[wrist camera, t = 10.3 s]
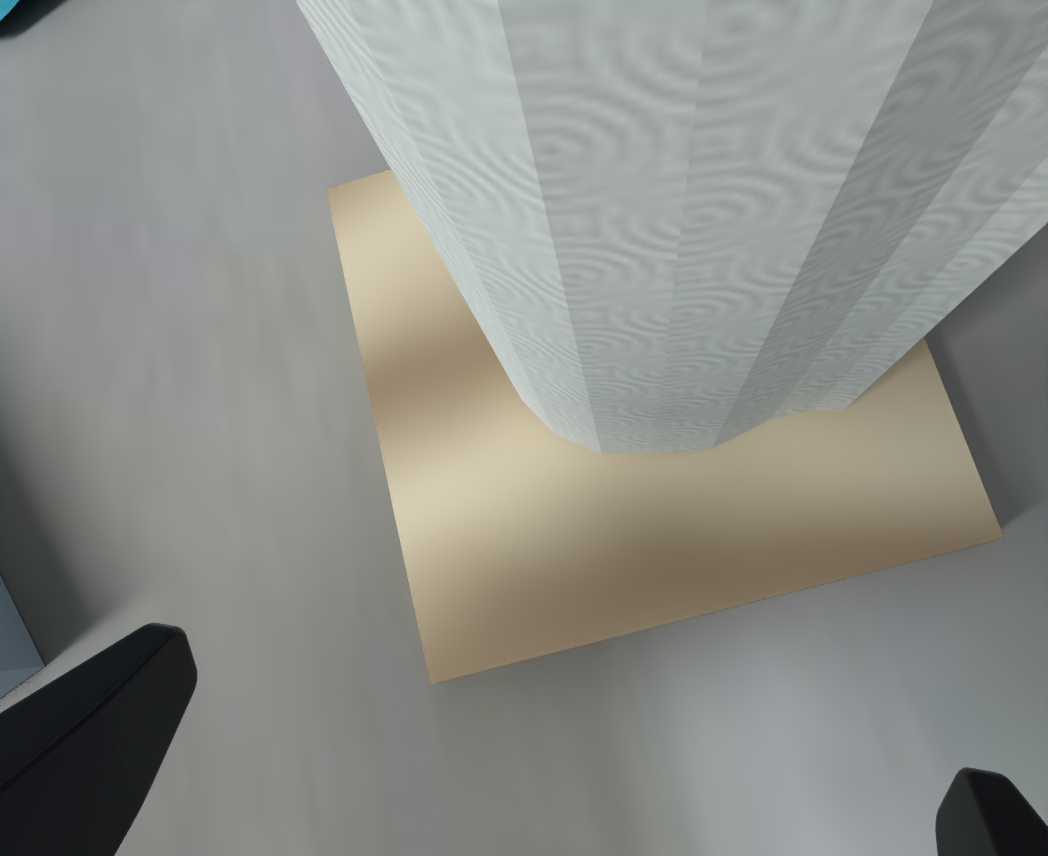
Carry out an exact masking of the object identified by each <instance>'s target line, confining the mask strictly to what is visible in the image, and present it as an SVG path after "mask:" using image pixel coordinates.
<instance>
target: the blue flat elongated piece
mask: <svg viewBox="0 0 1048 856" xmlns="http://www.w3.org/2000/svg"><path fill="white" fill-rule="evenodd" d="M18 1H19V0H0V20H1V19H2V18H3V17H4V16H5V15H7V14H8V12H9V11H10V10H11V9H12V8H13V7H14V6H15V4H16V3H17V2H18Z"/></svg>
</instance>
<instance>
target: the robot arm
mask: <svg viewBox="0 0 1048 856" xmlns="http://www.w3.org/2000/svg"><path fill="white" fill-rule="evenodd" d="M196 683H197V668H196V665H195V661H194V658H193V655H192V652H191V649H190V645H189V642H188V639H187V636H186V634H185V632H184V630H182V629H181V628H180V627H177V626H171V625H166V624H160V623H150V624H147V625H144V626H142V627H141V628H139V629H137V630H136V631H134V632H132V633H131V634H129V635H127V636H126V637H124V638H123V639H121V640H119V641H118V642H116V643H114V644H113V645H111V646H109V647H108V648H106V649H105V650H103V651H101V652H100V653H98V654H96V655H95V656H93V657H91V658H90V659H88V660H87V661H85V662H83V663H82V664H80V665H78V666H77V667H75V668H73V669H72V670H70V671H68V672H67V673H65V674H64V675H62V676H60V677H59V678H57V679H55V680H54V681H52V682H50V683H49V684H47V685H46V686H44V687H42V688H41V689H39V690H37V691H36V692H34V693H32V694H31V695H29V696H28V697H26V698H24V699H23V700H21V701H19V702H18V703H16V704H14V705H13V706H11V707H10V708H8V709H6V710H5V711H3V712H1V713H0V856H114V855H115V853H116V851H117V850H118V848H119V846H120V844H121V843H122V841H123V839H124V837H125V836H126V834H127V832H128V830H129V829H130V827H131V825H132V823H133V822H134V820H135V818H136V816H137V814H138V812H139V810H140V809H141V807H142V805H143V803H144V801H145V799H146V796H147V794H148V792H149V790H150V788H151V786H152V784H153V782H154V779H155V777H156V775H157V773H158V770H159V768H160V766H161V764H162V762H163V759H164V757H165V755H166V753H167V750H168V748H169V746H170V744H171V741H172V739H173V737H174V735H175V733H176V730H177V728H178V726H179V724H180V721H181V719H182V717H183V715H184V713H185V710H186V708H187V706H188V704H189V701H190V699H191V697H192V695H193V692H194V690H195V687H196ZM935 830H936V842H937V852H938V856H1048V826H1047V825H1046V823H1045V822H1044V821H1043V820H1042V818H1041V817H1040V816H1039V815H1038V814H1037V812H1036V811H1035V810H1034V809H1033V807H1032V806H1031V805H1030V804H1029V803H1028V801H1027V800H1026V799H1025V798H1024V796H1023V795H1022V794H1021V793H1020V791H1019V790H1018V789H1017V788H1016V787H1015V785H1014V784H1013V783H1012V782H1011V781H1010V780H1009V779H1008V778H1007V777H1005V776H1004V775H1002V774H999V773H996V772H991V771H985V770H980V769H974V768H963V769H961V770H959V771H958V773H957V774H956V776H955V778H954V780H953V782H952V784H951V785H950V787H949V789H948V791H947V793H946V795H945V797H944V799H943V801H942V803H941V805H940V807H939V809H938V812H937V816H936V829H935Z"/></svg>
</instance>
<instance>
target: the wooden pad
mask: <svg viewBox="0 0 1048 856" xmlns="http://www.w3.org/2000/svg"><path fill="white" fill-rule="evenodd" d="M326 191H327V196H328V200H329V205H330V210H331V215H332V219H333V224H334V229H335V234H336V238H337V243H338V248H339V253H340V257H341V262H342V267H343V272H344V277H345V281H346V286H347V291H348V296H349V300H350V305H351V310H352V315H353V319H354V324H355V329H356V334H357V338H358V343H359V348H360V353H361V357H362V362H363V367H364V372H365V376H366V381H367V386H368V391H369V395H370V400H371V405H372V410H373V414H374V419H375V424H376V429H377V433H378V438H379V443H380V448H381V452H382V457H383V462H384V467H385V471H386V476H387V481H388V486H389V490H390V495H391V500H392V505H393V509H394V514H395V519H396V524H397V528H398V533H399V538H400V543H401V547H402V552H403V557H404V562H405V567H406V571H407V576H408V581H409V586H410V590H411V595H412V600H413V605H414V609H415V614H416V619H417V624H418V628H419V633H420V638H421V643H422V647H423V652H424V657H425V662H426V666H427V671H428V676H429V681H430V684H433V683H437V682H441V681H445V680H449V679H453V678H457V677H461V676H465V675H469V674H473V673H477V672H481V671H484V670H488V669H492V668H496V667H500V666H504V665H508V664H512V663H516V662H520V661H524V660H528V659H532V658H536V657H539V656H543V655H547V654H551V653H555V652H559V651H563V650H567V649H571V648H575V647H579V646H583V645H587V644H591V643H595V642H598V641H602V640H606V639H610V638H614V637H618V636H622V635H626V634H630V633H634V632H638V631H642V630H646V629H650V628H653V627H657V626H661V625H665V624H669V623H673V622H677V621H681V620H685V619H689V618H693V617H697V616H701V615H705V614H708V613H712V612H716V611H720V610H724V609H728V608H732V607H736V606H740V605H744V604H748V603H752V602H756V601H760V600H763V599H767V598H771V597H775V596H779V595H783V594H787V593H791V592H795V591H799V590H803V589H807V588H811V587H815V586H818V585H822V584H826V583H830V582H834V581H838V580H842V579H846V578H850V577H854V576H858V575H862V574H866V573H870V572H873V571H877V570H881V569H885V568H889V567H893V566H897V565H901V564H905V563H909V562H913V561H917V560H921V559H925V558H928V557H932V556H936V555H940V554H944V553H948V552H952V551H956V550H960V549H964V548H968V547H972V546H976V545H980V544H983V543H987V542H991V541H995V540H999V539H1003V538H1004V536H1003V534H1002V531H1001V529H1000V526H999V524H998V521H997V519H996V516H995V513H994V511H993V508H992V506H991V503H990V501H989V498H988V496H987V493H986V491H985V488H984V486H983V483H982V481H981V478H980V476H979V473H978V471H977V468H976V466H975V463H974V461H973V458H972V456H971V453H970V451H969V448H968V446H967V443H966V440H965V438H964V435H963V433H962V430H961V428H960V425H959V423H958V420H957V418H956V415H955V413H954V410H953V408H952V405H951V403H950V400H949V398H948V395H947V393H946V390H945V388H944V385H943V383H942V380H941V378H940V375H939V373H938V370H937V367H936V365H935V362H934V360H933V357H932V355H931V352H930V350H929V347H928V345H927V342H926V340H925V337H923V338H922V339H920V340H919V341H918V342H917V343H916V344H915V345H914V346H913V347H912V348H911V349H910V350H908V351H907V352H906V353H905V354H904V355H903V356H902V357H901V358H900V359H899V360H898V361H896V362H895V363H894V364H893V365H892V366H891V367H890V368H889V369H888V370H887V371H886V372H885V373H883V374H882V375H881V376H880V377H879V378H878V379H877V380H876V381H875V382H874V383H873V384H871V385H870V386H869V387H868V388H867V389H866V390H865V391H864V392H863V393H862V394H861V395H859V396H858V397H857V398H856V399H855V400H854V401H853V402H852V403H851V404H850V405H849V406H847V407H846V408H845V409H844V410H843V411H833V410H810V411H806V412H801V413H797V414H793V415H789V416H785V417H781V418H776V419H772V420H769V421H767V422H765V423H763V424H761V425H759V426H757V427H755V428H753V429H751V430H749V431H747V432H745V433H743V434H741V435H739V436H737V437H735V438H732V439H730V440H728V441H726V442H724V443H722V444H720V445H718V446H716V447H714V448H712V449H704V450H687V451H676V452H666V453H655V454H600V453H597V452H595V451H593V450H590V449H588V448H586V447H583V446H581V445H579V444H576V443H574V442H572V441H569V440H567V439H565V438H562V437H560V436H558V435H555V434H554V433H553V432H552V431H551V430H550V429H549V427H548V426H547V425H546V424H545V423H544V422H543V421H542V420H541V419H540V418H539V417H538V416H537V415H536V414H535V413H534V412H533V411H532V410H531V409H530V408H529V407H528V406H527V405H526V404H525V403H524V402H523V401H522V399H521V398H520V396H519V394H518V393H517V391H516V389H515V387H514V386H513V384H512V382H511V380H510V378H509V377H508V375H507V373H506V371H505V370H504V368H503V366H502V364H501V363H500V361H499V359H498V357H497V355H496V354H495V352H494V350H493V348H492V347H491V345H490V343H489V341H488V340H487V338H486V336H485V334H484V332H483V331H482V329H481V327H480V325H479V324H478V322H477V320H476V318H475V317H474V315H473V313H472V311H471V309H470V308H469V306H468V304H467V302H466V301H465V299H464V297H463V295H462V294H461V292H460V290H459V288H458V286H457V285H456V283H455V281H454V279H453V278H452V276H451V274H450V272H449V271H448V269H447V267H446V265H445V263H444V262H443V260H442V258H441V256H440V255H439V253H438V251H437V249H436V248H435V246H434V244H433V242H432V240H431V239H430V237H429V235H428V233H427V232H426V230H425V228H424V226H423V225H422V223H421V221H420V219H419V217H418V216H417V214H416V212H415V210H414V209H413V207H412V205H411V203H410V202H409V200H408V198H407V196H406V194H405V193H404V191H403V189H402V187H401V186H400V184H399V182H398V180H397V179H396V177H395V175H394V173H393V171H392V170H391V169H390V170H387V171H384V172H380V173H377V174H374V175H371V176H367V177H364V178H361V179H358V180H354V181H351V182H348V183H345V184H341V185H338V186H335V187H332V188H328V189H326Z"/></svg>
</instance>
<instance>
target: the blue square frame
mask: <svg viewBox="0 0 1048 856" xmlns="http://www.w3.org/2000/svg"><path fill="white" fill-rule="evenodd" d="M43 667H45V666H44V664H43V662H42V660H41V658H40V656H39V654H38V651H37V649H36V647H35V645H34V643H33V641H32V639H31V637H30V635H29V633H28V631H27V629H26V627H25V625H24V623H23V621H22V619H21V617H20V615H19V613H18V611H17V609H16V606H15V604H14V602H13V600H12V598H11V596H10V594H9V592H8V590H7V588H6V586H5V584H4V582H3V580H2V578H1V576H0V698H2V697H3V696H4V695H6V694H7V693H9V692H10V691H11V690H13V689H14V688H15V687H17V686H18V685H20V684H21V683H22V682H24V681H25V680H27V679H28V678H29V677H31V676H32V675H33V674H35V673H36V672H38V671H39V670H40V669H42V668H43Z"/></svg>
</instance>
